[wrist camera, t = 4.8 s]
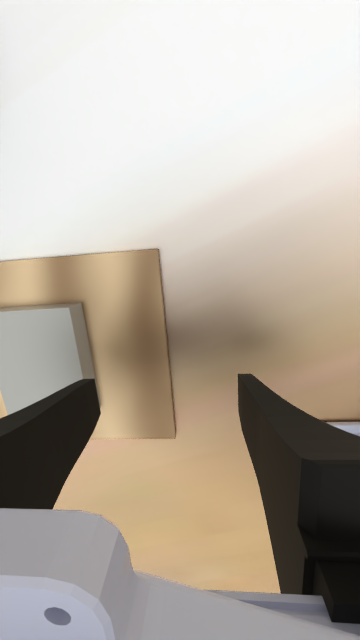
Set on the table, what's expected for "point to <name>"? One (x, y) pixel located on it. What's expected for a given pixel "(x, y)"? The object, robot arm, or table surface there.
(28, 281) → the wooden board
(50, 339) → the tile
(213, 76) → the table surface
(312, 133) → the table surface
